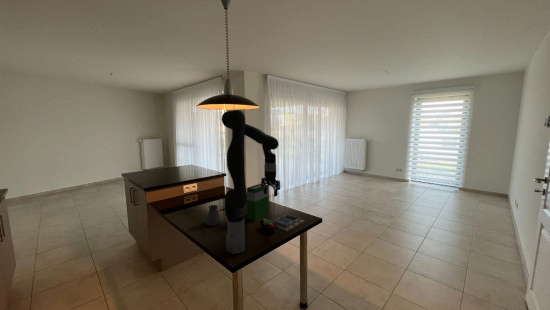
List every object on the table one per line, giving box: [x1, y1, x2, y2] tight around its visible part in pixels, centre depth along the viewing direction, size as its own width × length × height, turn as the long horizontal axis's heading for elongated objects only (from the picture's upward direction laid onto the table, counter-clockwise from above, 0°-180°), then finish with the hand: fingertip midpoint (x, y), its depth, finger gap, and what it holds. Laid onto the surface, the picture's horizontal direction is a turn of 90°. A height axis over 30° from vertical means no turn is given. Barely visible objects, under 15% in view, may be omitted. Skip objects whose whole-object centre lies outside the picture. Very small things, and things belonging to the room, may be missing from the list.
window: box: [272, 214, 305, 232], centre depth 153 cm, size 20×16×3 cm
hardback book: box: [246, 182, 270, 222], centre depth 164 cm, size 18×7×24 cm, turn 147°
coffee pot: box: [204, 204, 225, 227], centre depth 148 cm, size 21×12×15 cm, turn 56°
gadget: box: [259, 218, 277, 233], centre depth 142 cm, size 6×13×6 cm, turn 34°
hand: (270, 195), depth 138 cm, fingers open, 8 cm apart
